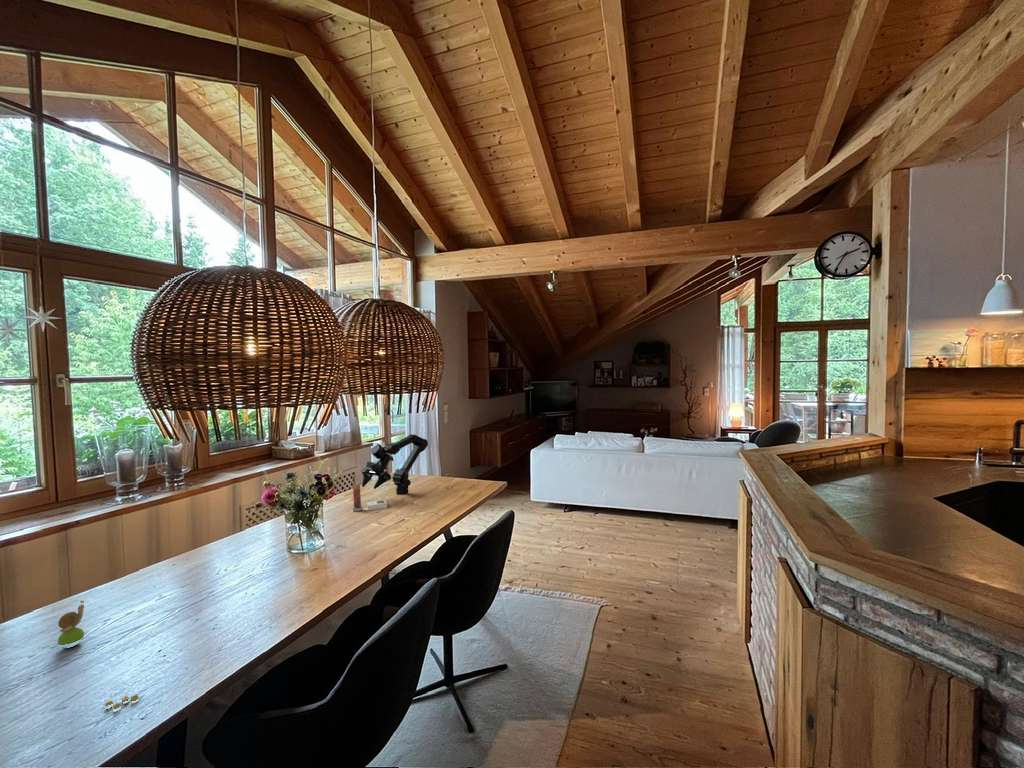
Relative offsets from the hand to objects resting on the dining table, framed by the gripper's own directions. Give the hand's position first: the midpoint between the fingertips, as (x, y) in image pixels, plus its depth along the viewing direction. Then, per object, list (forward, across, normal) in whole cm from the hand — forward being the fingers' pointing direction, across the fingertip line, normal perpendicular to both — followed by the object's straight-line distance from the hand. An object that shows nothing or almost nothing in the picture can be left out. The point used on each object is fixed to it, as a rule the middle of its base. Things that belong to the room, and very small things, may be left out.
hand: (368, 487), depth 246 cm
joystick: (+13, 0, +2) cm, 13 cm away
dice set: (+99, +58, -82) cm, 141 cm away
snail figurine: (+96, +16, -80) cm, 127 cm away
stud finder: (+7, +6, +7) cm, 12 cm away
